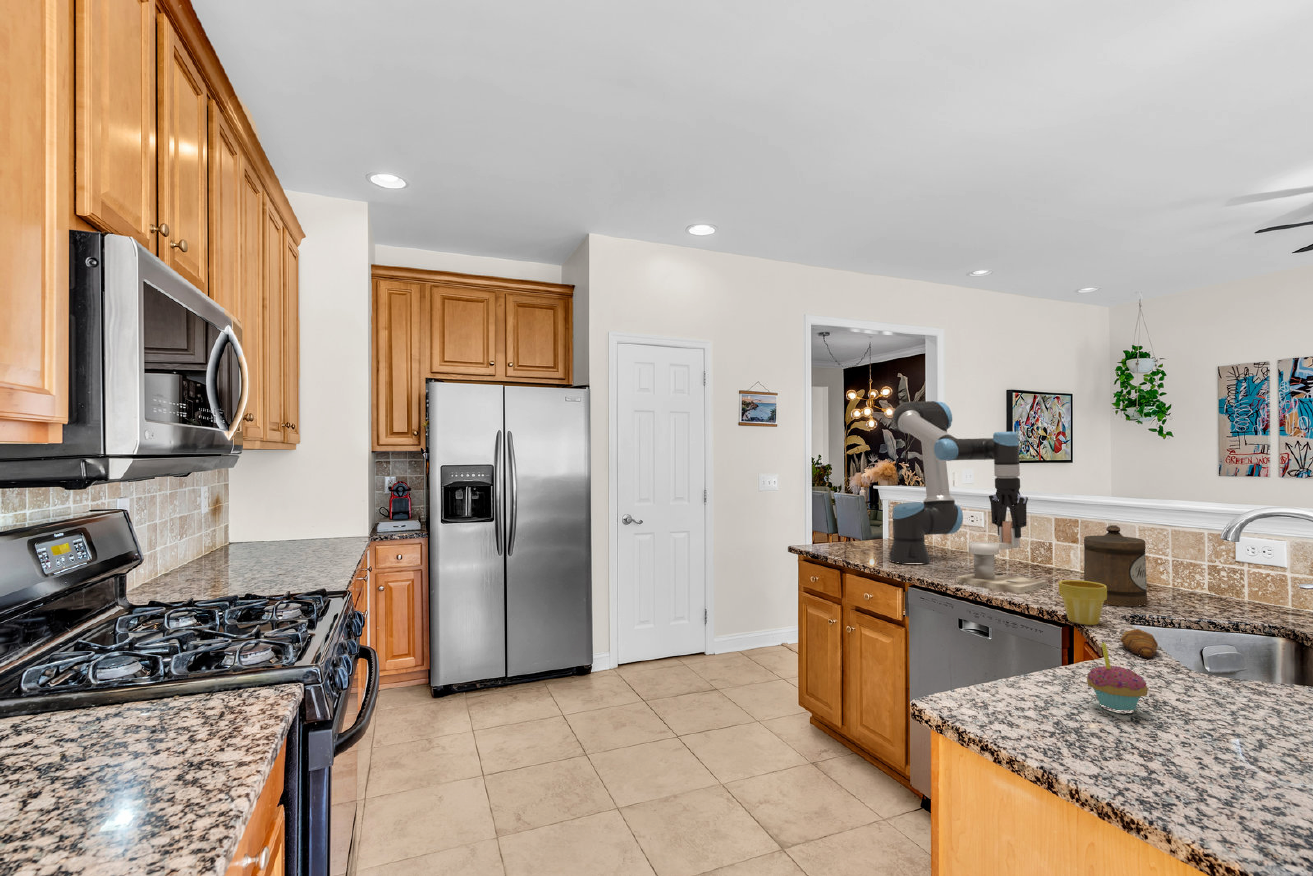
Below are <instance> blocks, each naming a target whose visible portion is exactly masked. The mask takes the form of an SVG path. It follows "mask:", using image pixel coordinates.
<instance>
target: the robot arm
mask: <svg viewBox="0 0 1313 876" xmlns="http://www.w3.org/2000/svg"><path fill="white" fill-rule="evenodd" d="M892 423H893V425H894V426H895V428H896V429H898V431H900V432H902V433H903V434H910V436H913V437H914V438H915V439H917V440H919V441H920V442H921V451H922V463H923V464H922V465H923V471H924V474H923V475H924V481H925V482H924V485H925V493H926V497H925V499H924V500H923V501H922V502H921V501H911V502H909V501H908V502H901V503H899V504H895V505H894V506H893V508H892V515H891V517H892V536H893V537H892V539H893V540H892V545H891V548H890V552H889V555H888V560H889V559H890V560H891V561H894V562H899V563H929V562H930V563H931V557H930V554H929V551H928V549H927V545H926V541H925V540H926V539H925V535H927V536H929V535H930V536H932V535H950V534H956V533H957V532H959V530H960V528H961V527H962V525H963V521H964V520H963V519H964V513H963V510H962V509H961V507H960V506H959V505H958V504H956V503H955V499H954V498H953V497H952V496H951V493H950V484H949V483H950V482H949V475H948V473H949V472H948V465H947V462H951V461H978V460H979V461H986V460H987V461H990V460H991V461H993V468H994V469H993V470H994V475H993V476H994V477H995V478H994V489H996V492H995V494H991V495H988V499H989V502H990V514H991V515H990V516H991V524H992V525H996V527H997V536H999V537H998V538H999V539H998V541H999V543H1003V527H1002V521H1006V518H1007V511H1008V509H1009V512H1010V518H1011V521H1012V523H1013V527H1012V528H1011V537H1012V549H1019V548H1021V547H1020V544H1021V543H1020V542H1021V541H1020V539H1021V537H1022V529H1023V528H1024V527H1027V526H1028V525H1027V524H1028V523H1027V522H1028V521H1027V520H1028V519H1027V505H1028V501H1029V498H1028V497H1027V496H1022V495H1021V493H1020V488H1021V479H1020V475H1021V473H1020V441H1019V434H1018V432H1016V431H996V432H993V434H992V435H993V436H992V437H991V438H989V437H988V438H987V437H986V438H983V437H982V438H956V437H955V436H953V435H951V434H950V433H948V429H950V428H951V426H952V423H953V414H952V411H951V408H950V407H949V406H948V405H947V404H946V403H945V402H943V401H936V400H935V401H934V400H931V401H906V402H903V403H900V404H899V405H898V406H897V407H895V409H894V410H893V412H892ZM930 563H929V564H930Z"/></svg>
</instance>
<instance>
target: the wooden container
mask: <svg viewBox="0 0 1313 876" xmlns="http://www.w3.org/2000/svg"><path fill="white" fill-rule="evenodd" d="M1105 529H1106V533H1105V534H1104V535H1085V536H1084V537H1083V548H1084V549H1083V557H1084V558H1083V565H1084V566H1083V581H1089V582H1096V583H1100V584H1104V585H1106V586H1107V599H1106V600H1104V603H1103V605H1105V604H1108V605H1107V606H1112V605H1114V606H1113V607H1121V606H1139V605H1144V604H1147V605H1148V592H1147V591H1148V590H1147V589H1148V588H1147V587H1148V585H1147V582H1148V581H1147V579H1148V578H1147V561H1146V540H1145V539H1142V538H1138V537H1132V536H1124V535H1123V534H1121V533H1120V531H1121V527H1119V526H1118V525H1114V524H1113V525H1108V526H1106V527H1105ZM1144 606H1145V605H1144ZM1139 607H1140V606H1139Z"/></svg>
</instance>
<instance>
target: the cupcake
mask: <svg viewBox="0 0 1313 876" xmlns="http://www.w3.org/2000/svg"><path fill="white" fill-rule="evenodd" d="M1100 645H1101V649H1102V655H1103V659H1104V664H1105V665H1103V666H1102V665H1101V666H1097V667H1095V668H1091V670H1090V671H1088V673H1087V675H1086V682H1087V685H1088V686H1089V687H1090V688H1092V689H1093V691H1094V693H1095V695H1096V697H1097V700H1098V703H1099V705H1100V704H1101V705H1104V706H1106V707H1109V708H1112V709H1115V710H1135V711H1136V708H1137V706H1138V704H1139V703H1138V702H1139V700H1140V699H1141V697H1145V696H1148V691H1149V690H1148V689H1149V688H1148V686H1147V684H1148V683H1147V682H1146V681H1145V679H1144V678H1143V677H1142V676H1140V675H1139V674H1137V673H1136V672H1135V671H1133V670H1131V669H1130V668H1125V667H1121V666H1115V665H1111V663H1110V659H1109V653H1108V648H1107V643H1105V642H1104V639H1103V638H1101V644H1100Z"/></svg>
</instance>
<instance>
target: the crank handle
mask: <svg viewBox="0 0 1313 876" xmlns="http://www.w3.org/2000/svg"><path fill="white" fill-rule="evenodd" d="M1002 527H1003V543H1000V542H991V541H990V542H989V541H970V542H968V553H969V554H972V555H974V554H980V555H994V556H995V555H999V554H1000V551H1003V550H1013V548H1012V537H1011V528H1012V527H1013V523H1012V520H1005V521H1002Z"/></svg>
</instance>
